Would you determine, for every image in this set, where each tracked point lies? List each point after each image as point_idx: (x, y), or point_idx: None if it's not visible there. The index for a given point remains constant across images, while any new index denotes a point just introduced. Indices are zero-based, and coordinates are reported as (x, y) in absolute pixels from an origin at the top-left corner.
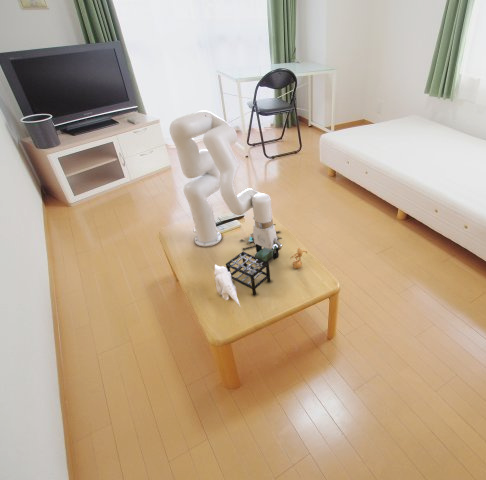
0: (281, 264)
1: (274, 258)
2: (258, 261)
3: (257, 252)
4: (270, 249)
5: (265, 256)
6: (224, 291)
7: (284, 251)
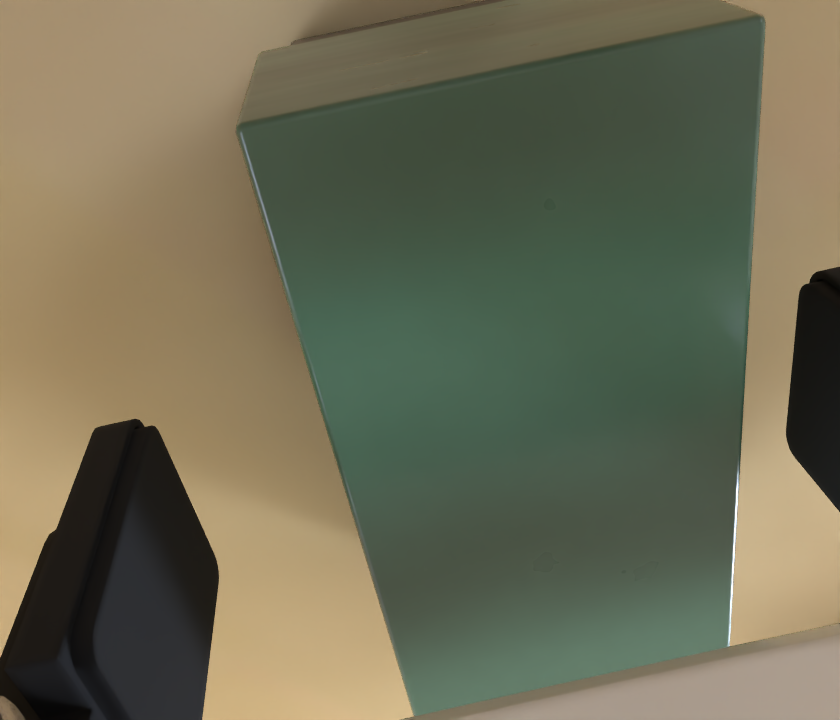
0: (48, 438)
1: (90, 468)
2: (474, 9)
3: (746, 231)
4: (469, 632)
5: (301, 317)
6: None
7: None
